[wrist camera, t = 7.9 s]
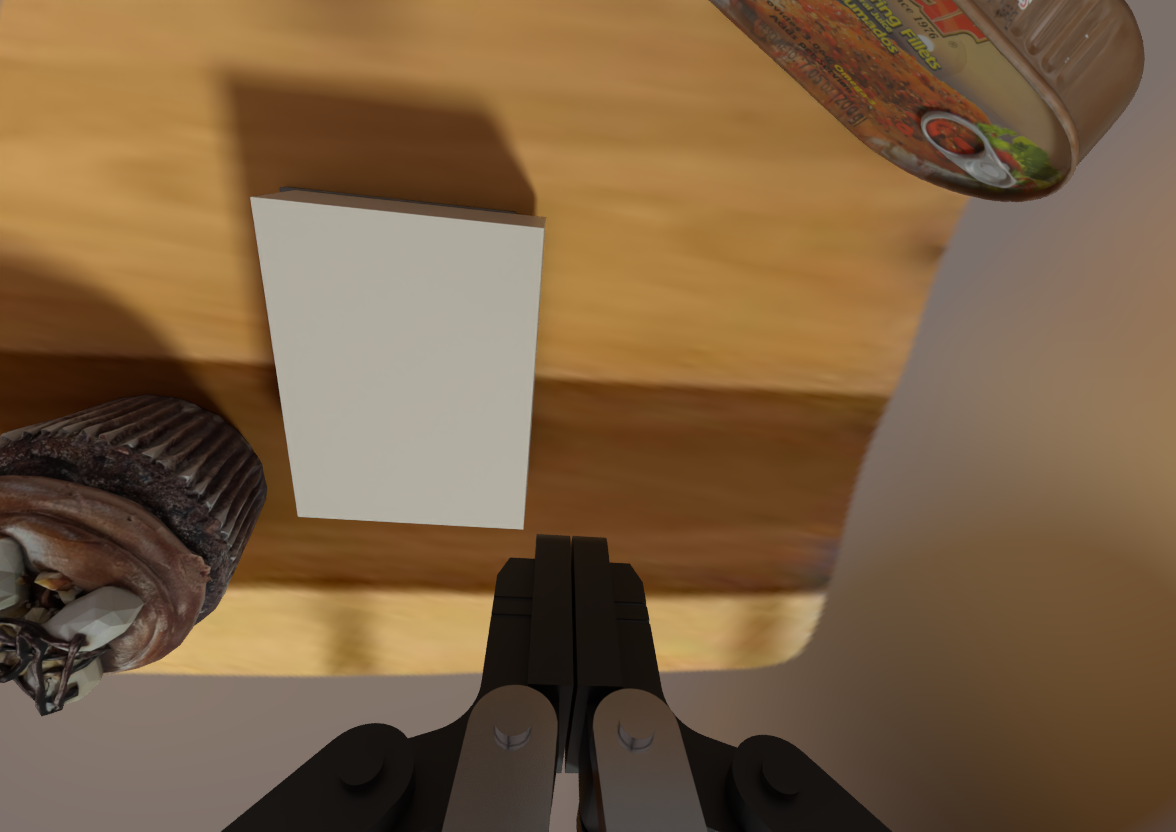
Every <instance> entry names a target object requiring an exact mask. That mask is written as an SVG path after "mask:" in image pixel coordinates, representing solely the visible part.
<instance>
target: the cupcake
mask: <svg viewBox="0 0 1176 832" xmlns="http://www.w3.org/2000/svg"><path fill="white" fill-rule="evenodd" d="M266 493H267V485H266V482H265V478H264V474H263V467H262V463H261V462H260V460H259V458H258V456H257V455H256V454H255V453H254V452H253V450H252V447H251V445H250V444H249V443H248V442H247V441H246V440H245V439H244V438H243V437H242V435H241V434H240V433H239V432H238V431H237V430H235V429H234V428H233V427H232V426H230V425H229V424H228V423H227V422H225V421H224V420H223V419H222V418H221V417H220V416H219V415H217V414H214V413H211V412H208V411H206V410H204V409H202V408H201V407H199V406H197V405H195V404H193V403H191V402H189V401H186V400H183V399H179V398H175V397H166V396H157V395H150V394H145V395H141V396H135V397H126V398H120V399H117V400H114V401H110V402H107V403H104V404H100V405H97V406H94V407H91V408H88V409H85V410H82V411H79V412H76V413H73V414H70V415H68V416H65V417H62V418H58V419H54V420H50V421H46V422H42V423H38V424H34V425H31V426H27V427H23V428H20V429H16V430H13V431H9V432H6V433H3V434H2V435H1V436H0V671H1V672H0V683H5V682H7V681H10V680H14V681H15V682H16V684H17V685H18V686H19V687H20V688H21V689H22V690H23V691H24V692H25V693H26V694H27V695H28V696H30V697H31V698H32V699H33V700H35V706H36V708H37V710H38V711H39V713H40V715H41V716H44V715H48V714H51V713H54V712H57V711H60V710H62V709H63V706H64V704H67V703H70V702H73V701H77V700H79V699H81V698H83V697H84V696H85V695H86V694H88V693H89V692H90V691H91V690H92V689H93V688H94V687H95V686H96V685H97V684H98V683H99V681H100V680H101V678H102V675H108V674H113V673H117V672H122V671H127V670H132V669H137V668H140V667H142V666H145V665H147V664H150V663H152V662H155V661H158V660H160V659H162V658H163V657H165V656H166V655H167V654H169V653H170V652H171V651H173V650H174V649H175V648H177V647H178V646H180V645H181V643H182V642H183V640H184V639H185V638H186V636H187V635H188V634H189V632H190V631H191V630H192V628H193V626H195V625H196V624H197V623H199V622H200V621H201V620H203V619H204V618H205V617H206V616H208V615H209V614H210V613H211V612H212V611H214V610H215V609H216V607H217V606H218V604H219V602H220V600H221V599H222V597H223V596H224V594H225V592H226V589H227V587H228V584H229V582H230V580H231V578H232V576H233V574H234V572H235V569H236V567H237V565H238V563H239V561H240V558H241V555H242V553H243V550H244V548H245V546H246V544H247V542H248V540H249V538H250V536H251V533H252V531H253V529H254V526H255V524H256V521H257V519H258V516H259V514H260V512H261V509H262V507H263V505H264V503H265V500H266Z"/></svg>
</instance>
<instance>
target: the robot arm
mask: <svg viewBox="0 0 1176 832" xmlns="http://www.w3.org/2000/svg"><path fill="white" fill-rule="evenodd" d="M564 750H565V773H579V805H578V811H577V818H576V829H577V832H892V831H891V830H890V829H888V828H887V827H886V826H885V825H884V824H883V823H882V822H881V821H880V820H878V819H877V818H876V817H875V816H874V815H872V813H871V812H869V811H868V810H867V809H866V808H865V807H864V806H863V805H862V804H860V803H859V802H858V801H857V800H856V799H855V798H854V797H853V796H851V795H850V794H849V793H848V792H847V791H846V790H845V789H844V788H843V787H841V786H840V785H839V784H838V783H837V782H836V781H835V780H833V778H831V777H830V776H829V775H828V774H827V773H826V772H825V771H824V770H822V769H821V768H820V767H819V766H818V765H817V764H816V763H815V762H813V761H812V760H811V759H810V758H809V757H808V756H807V755H806V754H804V753H803V752H802V751H801V750H800V749H798V748H797V747H796V746H794V745H793V744H791V743H789V742H788V741H785V740H783V739H781V738H778V737H775V736H770V735H756V736H752V737H750V738H748V739H746V740H744V741H743V742H742V743H741V744H740V745H739V746H738V748H737V747H734V746H731V745H728V744H725V743H722V742H720V741H717V740H714V739H712V738H709V737H706V736H704V735H701V734H699V733H697V732H695V731H693V730H692V729H690V728H689V727H687V726H686V725H685V724H683V723H682V722H681V721H680V720H679V719H678V718H677V717H676V716H675V715H674V713H673V712H672V711H671V709H670V708H669V706H668V704H667V703H666V700H665V698H664V695H663V692H662V688H661V682H660V676H659V671H658V665H657V660H656V654H655V649H654V643H653V637H652V632H651V626H650V624H649V615H648V610H647V607H646V599H645V593H644V588H643V582H642V581H641V579H640V578H639V576H638V575H637V574H636V572H635V571H634V569H633V568H632V566H631V565H630V564H626V563H609V554H608V545H607V539H606V538H599V537H581V536H573V537H572V541H571V540H570V536H561V535H543V534H537V537H536V549H535V559H527V558H509V560H508V561H507V562H506V564H505V565H504V567H503V568H502V569H501V571H500V572H499V573H498V575H497V580H496V587H495V594H494V601H493V608H492V615H491V621H490V628H489V635H488V641H487V648H486V655H485V662H484V669H483V675H482V682H481V687H480V691H479V693H478V696H477V698H476V700H475V701H474V703H473V705H472V706H471V707H470V708H469V710H468V711H467V712H466V713H465V714H464V715H462V716H461V718H459V719H458V720H456V721H455V722H453V723H451V724H449V725H447V726H446V727H443V728H440V729H438V730H435V731H431V732H428V733H425V734H421V735H418V736H415V737H411V738H407V737H406V736H405V735H404V733H402V732H401V731H400V730H399V729H397V728H395V727H393V726H390V725H386V724H380V723H372V724H365V725H360V726H357V727H354V728H352V729H349V730H348V731H346V732H344V733H342V734H341V735H339V736H338V737H337V738H335V739H334V740H332V741H331V742H330V743H329V744H328V745H326V746H325V747H324V748H323V749H321V750H320V751H319V752H318V753H317V754H315V755H314V756H313V757H312V758H311V759H309V760H308V761H307V762H306V763H304V764H303V765H302V766H301V767H300V768H298V769H297V770H296V771H295V772H293V773H292V774H291V775H290V776H288V777H287V778H286V779H285V780H284V781H282V782H281V783H280V784H279V785H277V786H276V787H275V788H274V789H273V790H271V791H270V792H269V793H268V794H266V795H265V796H264V797H263V798H262V799H260V800H259V801H258V802H257V803H255V804H254V805H253V806H252V807H251V808H249V809H248V810H247V811H246V812H245V813H243V814H242V815H241V816H240V817H238V818H237V819H236V820H235V821H233V822H232V823H231V824H230V825H229V826H227V827H226V828H225V829H224V830H222V831H221V832H549V822H550V814H551V807H552V799H553V792H554V785H555V777H556V773H561V771H562V764H563V757H564Z"/></svg>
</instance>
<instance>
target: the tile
mask: <svg viewBox="0 0 1176 832" xmlns="http://www.w3.org/2000/svg"><path fill="white" fill-rule="evenodd" d="M250 199H251V206H252V213H253V219H254V226H255V233H256V239H257V246H258V253H259V259H260V266H261V273H262V279H263V286H264V293H265V299H266V306H267V313H268V319H269V326H270V333H271V339H272V346H273V353H274V359H275V366H276V373H277V379H278V386H279V393H280V399H281V406H282V413H283V420H284V426H285V433H286V440H287V446H288V453H289V460H290V466H291V473H292V480H293V486H294V493H295V500H296V506H297V513H298V517H313V518H331V519H348V520H366V521H384V522H401V523H419V524H437V525H454V526H472V527H489V528H507V529H523V526H524V515H525V504H526V494H527V482H528V468H529V454H530V439H531V425H532V411H533V397H534V383H535V369H536V354H537V340H538V326H539V312H540V298H541V284H542V269H543V255H544V241H545V227H546V217H539V216H529V215H520V214H511V213H502V212H493V211H483V210H474V209H465V208H456V207H447V206H437V205H428V204H419V203H410V202H401V201H391V200H382V199H373V198H364V197H355V196H345V195H336V194H327V193H318V192H309V191H299V190H293V191H286V192H279V193H273V194H266V195H259V196H253V197H250Z"/></svg>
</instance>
